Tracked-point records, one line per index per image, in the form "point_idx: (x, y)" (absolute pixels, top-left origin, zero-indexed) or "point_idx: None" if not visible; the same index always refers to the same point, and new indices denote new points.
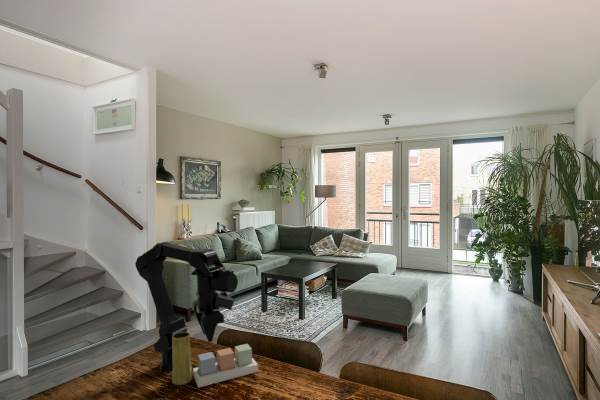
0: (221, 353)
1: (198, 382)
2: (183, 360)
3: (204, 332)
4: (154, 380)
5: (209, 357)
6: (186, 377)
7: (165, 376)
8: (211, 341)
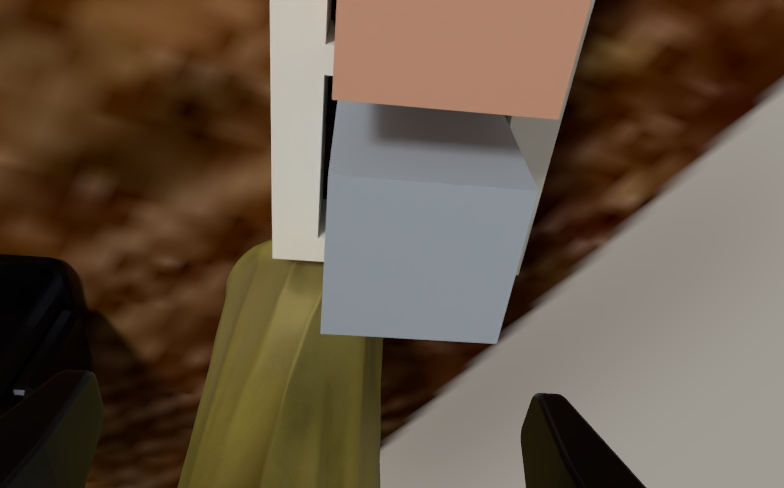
0: (483, 70)
1: None
2: (378, 460)
3: (88, 450)
4: None
5: (487, 250)
6: None
7: (180, 368)
8: (559, 401)
